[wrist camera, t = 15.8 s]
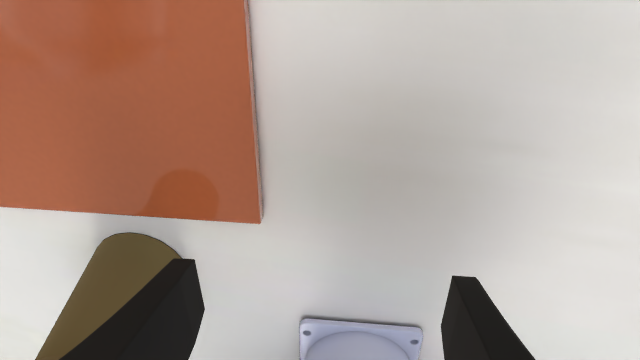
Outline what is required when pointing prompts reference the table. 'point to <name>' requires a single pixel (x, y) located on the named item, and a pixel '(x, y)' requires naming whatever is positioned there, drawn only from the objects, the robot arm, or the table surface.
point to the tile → (129, 108)
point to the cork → (106, 288)
